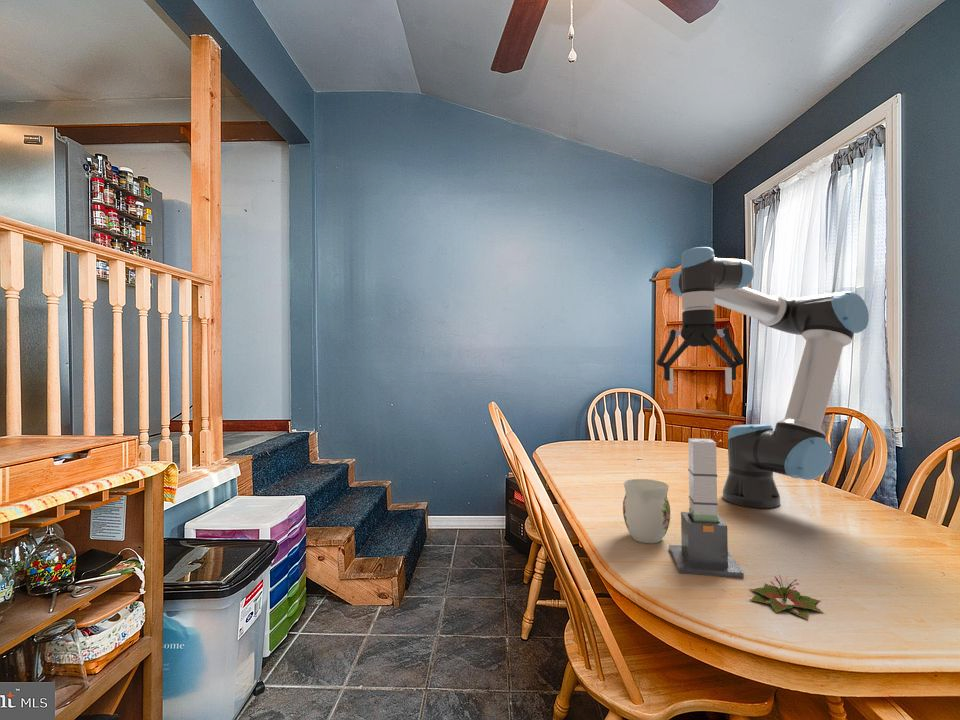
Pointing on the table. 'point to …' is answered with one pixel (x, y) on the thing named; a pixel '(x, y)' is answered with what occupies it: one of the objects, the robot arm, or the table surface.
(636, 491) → the pitcher
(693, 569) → the stand
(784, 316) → the robot arm
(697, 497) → the column
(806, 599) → the lily flower
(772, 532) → the table surface
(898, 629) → the table surface
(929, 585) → the table surface
